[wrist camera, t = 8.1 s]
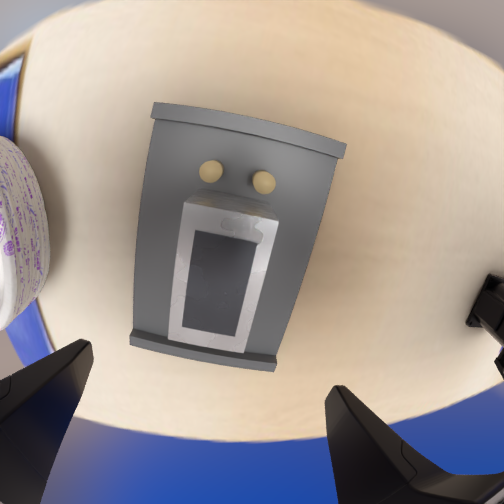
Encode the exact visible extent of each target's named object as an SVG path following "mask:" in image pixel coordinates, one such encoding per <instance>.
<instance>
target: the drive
mask: <svg viewBox="0 0 504 504" xmlns="http://www.w3.org/2000/svg"><path fill="white" fill-rule="evenodd" d="M278 224H279V220H278V218H277V217H276V215H275V213H274V211H273V209H272V207H271V205H270V204H269V202H264V201H260V200H255V199H250V198H246V197H241V196H236V195H231V194H226V193H221V192H216V191H211V190H206V189H200V188H199V189H198V190H197V191H196V192H195V193H194V194H193V195H192V196H190V197H189V198H188V199H187V200H186V201H185V202H184V206H183V212H182V218H181V225H180V231H179V238H178V245H177V253H176V261H175V269H174V277H173V287H172V296H171V307H170V318H169V331H168V339H169V340H174V341H178V342H183V343H188V344H193V345H198V346H203V347H209V348H214V349H220V350H226V351H232V352H239V353H244V350H245V347H246V343H247V340H248V336H249V332H250V329H251V325H252V322H253V318H254V314H255V311H256V307H257V303H258V300H259V296H260V292H261V289H262V285H263V281H264V277H265V274H266V270H267V266H268V262H269V259H270V255H271V251H272V247H273V243H274V239H275V236H276V232H277V228H278Z"/></svg>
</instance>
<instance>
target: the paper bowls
mask: <svg viewBox="0 0 504 504" xmlns="http://www.w3.org/2000/svg"><path fill="white" fill-rule="evenodd" d="M49 262H50V243H49V229H48V220H47V216H46V211H45V208H44V201H43V197H42V193H41V191H40V187H39V184H38V182H37V178H36V176H35V174H34V171H33V169H32V168H31V166H30V164H29V162H28V160H27V158H26V157H25V156H24V154H23V152H22V151H21V150H20V149H19V147H17V146H15V144H14V143H13V142H12V141H10V140H9V139H8V138H5V137H3V136H0V331H1V330H3V329H5V328H6V327H7V326H8V325H9V324H10V323H11V322H12V321H13V320H14V319H15V318H16V317H17V316H18V315H19V314H20V313H21V312H23V311H24V309H25V308H26V307H27V306H29V304H31V302H33V301H34V300H35V299H36V297H37V296H38V294H39V293H40V292H41V290H42V288H43V286H44V284H45V281H46V278H47V275H48V272H49Z"/></svg>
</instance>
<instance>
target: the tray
mask: <svg viewBox="0 0 504 504" xmlns="http://www.w3.org/2000/svg"><path fill="white" fill-rule="evenodd" d="M150 118H153V119H155V123H154V127H153V132H152V137H151V142H150V147H149V152H148V158H147V163H146V169H145V175H144V182H143V189H142V196H141V204H140V212H139V221H138V231H137V242H136V254H135V271H134V296H133V330H132V332H131V334H130V345H132V346H136V347H139V348H143V349H147V350H151V351H155V352H159V353H164V354H168V355H172V356H177V357H182V358H187V359H191V360H197V361H202V362H207V363H213V364H219V365H225V366H231V367H238V368H245V369H252V370H260V371H268V372H274V371H275V368H276V366H277V359H276V354H277V352H278V349H279V346H280V344H281V341H282V338H283V335H284V333H285V330H286V327H287V324H288V321H289V319H290V316H291V313H292V310H293V307H294V304H295V301H296V298H297V295H298V292H299V289H300V286H301V283H302V280H303V277H304V274H305V271H306V268H307V265H308V262H309V258H310V255H311V252H312V249H313V246H314V242H315V239H316V236H317V232H318V229H319V226H320V222H321V219H322V215H323V212H324V208H325V205H326V201H327V197H328V194H329V190H330V186H331V183H332V179H333V175H334V171H335V167H336V164H337V160H338V159H343V157H344V153H345V149H346V145H347V144H345V143H342V142H339V141H336V140H333V139H330V138H327V137H324V136H321V135H318V134H314V133H311V132H308V131H304V130H301V129H297V128H293V127H290V126H286V125H282V124H278V123H274V122H270V121H266V120H262V119H257V118H253V117H248V116H243V115H239V114H234V113H228V112H223V111H217V110H211V109H205V108H199V107H192V106H185V105H177V104H168V103H158V102H154V105H153V109H152V113H151V117H150ZM199 188H200V189H206V190H211V191H216V192H221V193H226V194H231V195H236V196H241V197H246V198H250V199H255V200H260V201H264V202H269V204H270V205H271V207H272V209H273V211H274V213H275V215H276V217H277V218H278V220H279V224H278V228H277V232H276V236H275V239H274V243H273V247H272V251H271V255H270V259H269V262H268V266H267V270H266V274H265V277H264V281H263V285H262V289H261V292H260V296H259V300H258V303H257V307H256V311H255V314H254V318H253V322H252V325H251V329H250V332H249V336H248V340H247V343H246V347H245V350H244V353H239V352H232V351H226V350H220V349H214V348H209V347H203V346H198V345H193V344H188V343H183V342H178V341H174V340H169V339H168V331H169V318H170V307H171V296H172V287H173V277H174V269H175V261H176V253H177V245H178V238H179V231H180V225H181V218H182V212H183V206H184V202H185V201H186V200H187V199H188V198H189V197H190V196H192V195H193V194H194V193H195V192H196V191H197V190H198V189H199Z"/></svg>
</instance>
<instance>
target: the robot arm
mask: <svg viewBox="0 0 504 504" xmlns="http://www.w3.org/2000/svg"><path fill="white" fill-rule="evenodd" d="M466 325H467V326H469V327H482V328H484V329H485V330H486V331H487V332H489V333H490V334H491V335H492V336H493V337H494V338H495V339H496V340H497V341H498V342H499V343H500V344H501V345H502V346H503V349H502V351H501V352H500V354H499V356H498V357H497V358H496V359H495V361H494V362H495V364H496V366H497V368H498V370H499V372H500V374H501V375H502V377H503V379H504V278H501V277H498V276H495V275H493V274H489V275H488V277H487V279H486V282H485V284H484V287H483V289H482V291H481V293H480V295H479V298H478V300H477V302H476V304H475V306H474V308H473V310H472V312H471V314H470V316H469V318H468V320H467V322H466ZM93 360H94V357H93V351H92V344H91V342H90V341H87V340H84V339H79V340H77V341H75V342H73V343H71V344H69V345H67V346H65V347H63V348H61V349H59V350H58V351H56V352H54V353H52V354H50V355H48V356H46V357H44V358H42V359H40V360H38V361H36V362H34V363H33V364H31V365H29V366H27V367H25V368H23V369H21V370H19V371H17V372H15V373H14V374H12V376H10V375H9V376H8V377H6V378H4V379H2V380H0V504H40V502H41V499H42V496H43V493H44V490H45V486H46V483H47V480H48V477H49V474H50V471H51V468H52V466H53V463H54V461H55V458H56V455H57V453H58V450H59V448H60V445H61V442H62V440H63V438H64V435H65V433H66V430H67V428H68V426H69V423H70V421H71V419H72V417H73V414H74V412H75V410H76V408H77V405H78V403H79V401H80V399H81V396H82V394H83V391H84V388H85V385H86V382H87V379H88V376H89V373H90V370H91V368H92V365H93ZM325 415H326V430H327V439H328V445H329V450H330V456H331V462H332V467H333V473H334V479H335V485H336V491H337V498H338V504H504V472H501V473H498V474H489V475H456V474H451V473H448V472H446V471H444V470H443V469H441V468H440V467H438V466H437V465H436V464H434V463H432V462H431V461H430V460H428V459H427V458H425V457H424V456H423V455H421V454H420V453H419V452H417V451H416V450H415V449H414V448H412V447H411V446H410V445H409V444H408V443H406V441H404V440H403V439H402V438H401V437H400V436H399V435H398V434H397V433H395V432H394V431H393V430H392V429H391V428H390V427H389V426H388V425H387V424H385V423H384V422H383V421H382V420H381V419H380V418H379V417H378V416H377V415H376V414H375V413H373V412H372V411H371V410H370V409H369V408H368V407H367V406H366V405H365V404H364V403H363V402H362V401H361V400H359V399H358V398H357V397H356V396H355V395H354V394H353V393H352V392H351V391H350V390H349V389H348V388H347V387H345V386H343V385H335V386H333V388H332V389H331V391H330V393H329V394H328V396H327V397H326V400H325Z"/></svg>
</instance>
